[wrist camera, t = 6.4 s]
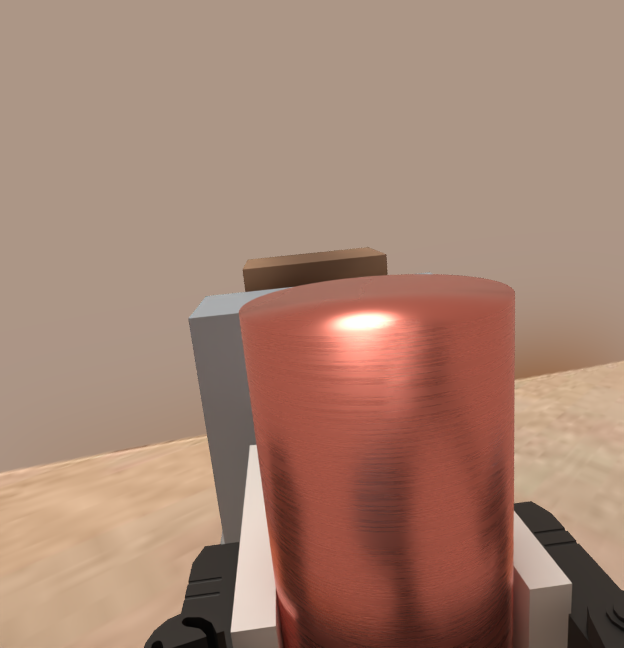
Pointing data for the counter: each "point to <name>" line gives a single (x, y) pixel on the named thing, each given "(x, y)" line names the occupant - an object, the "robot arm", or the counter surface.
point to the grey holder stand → (225, 399)
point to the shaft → (387, 458)
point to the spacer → (312, 268)
